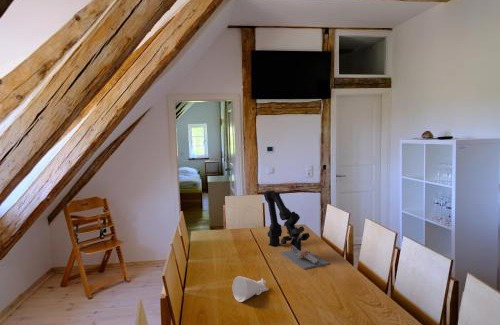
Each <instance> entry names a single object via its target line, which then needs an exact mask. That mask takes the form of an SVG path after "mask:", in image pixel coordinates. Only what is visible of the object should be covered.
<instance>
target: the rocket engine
mask: <svg viewBox="0 0 500 325" xmlns="http://www.w3.org/2000/svg"><path fill="white" fill-rule="evenodd" d="M266 283H267V281H266V280H265V279H264V278H261V279H260V280H253V279H251V278H247V277H244V276H239V275H238V276H236V277H235V278H234V280H233V281H232V290H231V291H232V294H233V296H234V298H235V300H236V301H237V302H239V303H242V302H244V301H247V300H248V299H250V298H253V296H254V295H255V296H260V295H261V294H262V293H264V292H268V291H270V290H269V287H267V286H266Z"/></svg>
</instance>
